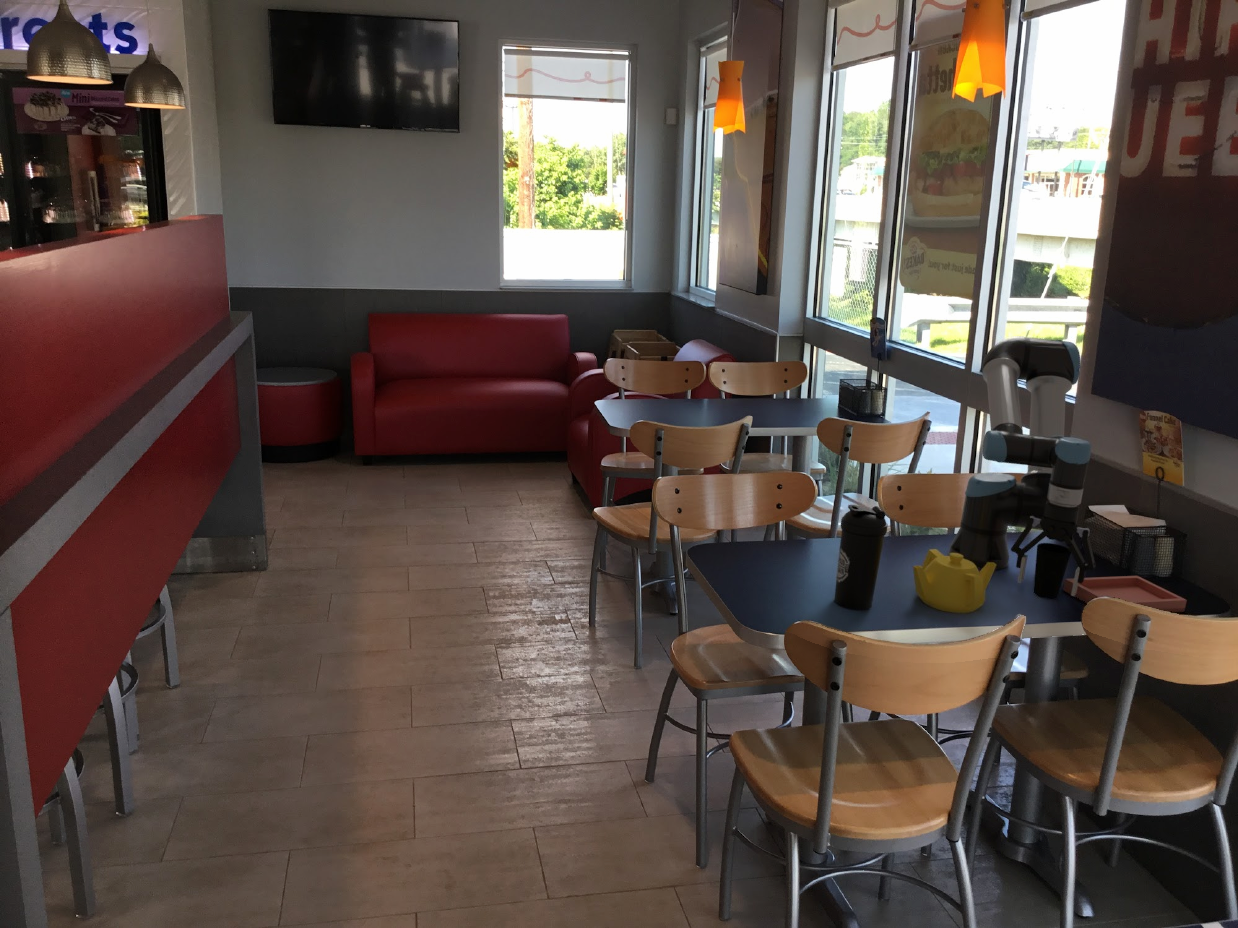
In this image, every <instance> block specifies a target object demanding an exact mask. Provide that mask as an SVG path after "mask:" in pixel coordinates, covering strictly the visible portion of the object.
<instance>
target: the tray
mask: <svg viewBox="0 0 1238 928" xmlns="http://www.w3.org/2000/svg"><path fill="white" fill-rule="evenodd" d="M1074 578H1075V577H1074ZM1074 578H1064V583H1063V587H1062V591H1064V592H1066V593H1068V594H1069V595H1071V593H1072V588H1073V583H1074ZM1103 596H1107V597H1115V598H1120V599H1122V600H1126V601H1127V602H1133V603H1137V604H1141V605H1145V606H1148V607H1153V608H1158V609H1159V610H1165V611H1172V612H1171V613H1184V612H1185V610H1186V606H1187V601H1188V600H1187V599H1185V598H1184V597H1182V596H1180V595H1178V594H1175V593H1173V592H1171V591H1170V590H1167V589H1165V588H1163V587H1161V586H1159V585H1157V584H1155V583H1153V582H1151V581H1149V580H1147V579H1145V578H1142V577H1140V576H1139V575H1127V576H1126V575H1124V576H1123V575H1122V576H1121V575H1120V576H1100V577H1099V576H1098V577H1095V576H1094V577H1085V578H1084V581H1083V582H1082V583H1078V588H1077V593H1076V595H1075V596H1074V597H1075V598H1076V597H1077V598H1076V599H1078V598H1079V599H1078V600H1080V601H1082V600H1083V601H1082V602H1084V601H1085V602H1084V603H1086V604H1087V602H1089V600H1092V598H1097V597H1103Z"/></svg>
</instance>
